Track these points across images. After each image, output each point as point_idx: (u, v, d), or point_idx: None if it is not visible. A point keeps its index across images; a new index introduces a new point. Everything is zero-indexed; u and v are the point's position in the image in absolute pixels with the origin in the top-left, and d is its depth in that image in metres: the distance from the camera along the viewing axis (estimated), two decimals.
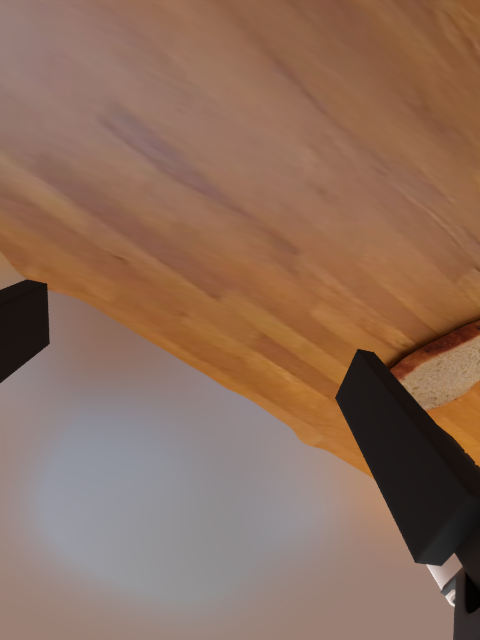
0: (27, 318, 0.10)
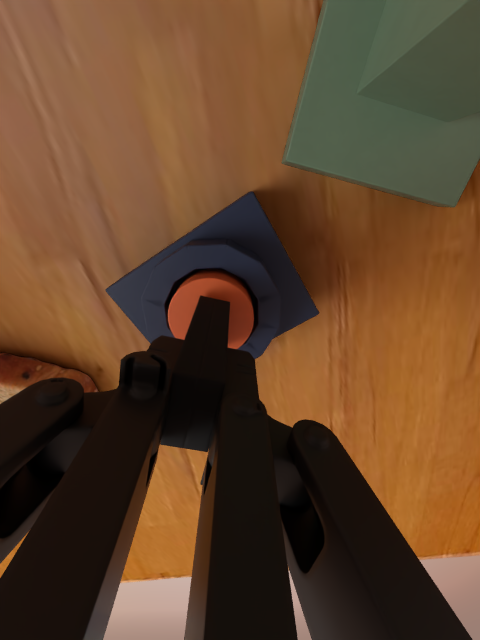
0: None
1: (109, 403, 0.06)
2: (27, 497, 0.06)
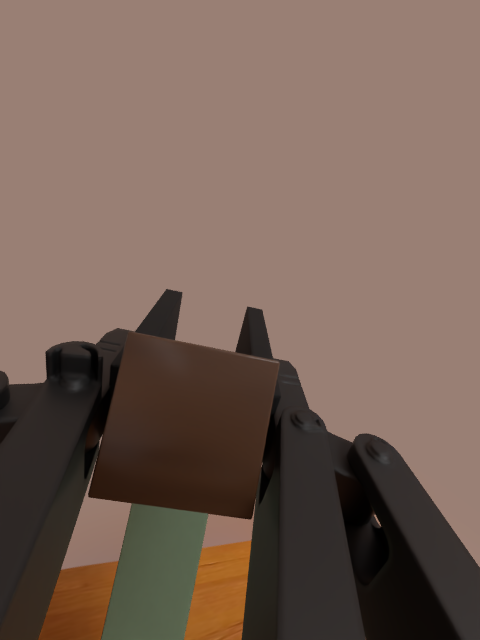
0: (174, 320, 0.13)
1: (35, 398, 0.06)
2: None
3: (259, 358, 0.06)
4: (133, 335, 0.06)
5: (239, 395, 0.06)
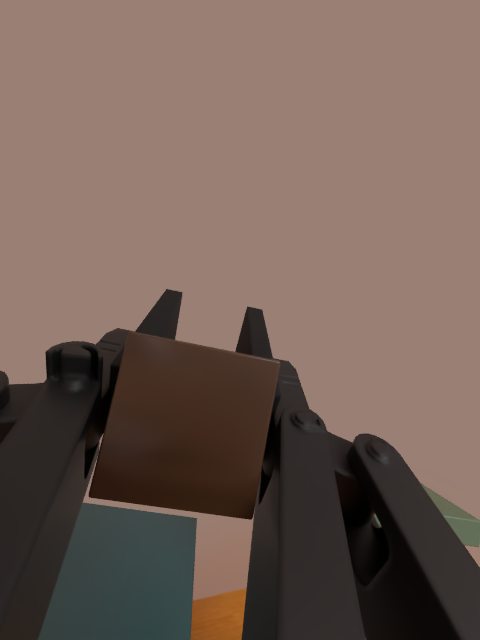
0: (174, 321, 0.13)
1: (35, 398, 0.06)
2: None
3: (259, 358, 0.06)
4: (133, 335, 0.06)
5: (239, 394, 0.06)
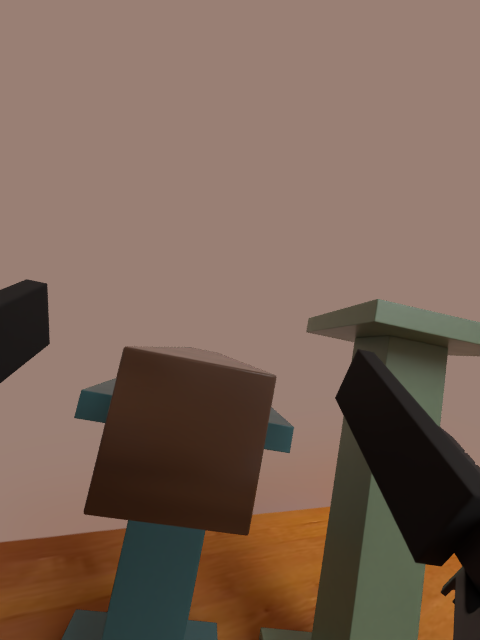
0: (27, 318, 0.10)
1: None
2: None
3: (256, 372, 0.06)
4: (129, 350, 0.06)
5: (235, 409, 0.06)
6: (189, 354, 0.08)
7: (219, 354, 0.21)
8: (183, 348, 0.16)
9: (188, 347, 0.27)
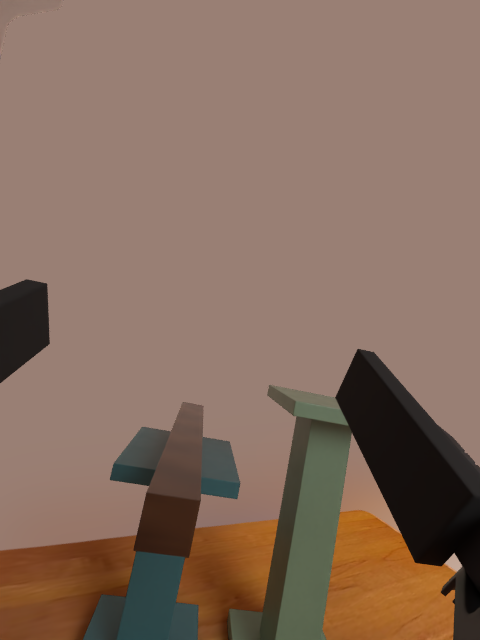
0: (27, 318, 0.10)
1: None
2: None
3: (192, 499, 0.17)
4: (148, 493, 0.16)
5: (185, 513, 0.17)
6: (171, 476, 0.19)
7: (199, 427, 0.32)
8: (173, 436, 0.27)
9: (180, 409, 0.38)
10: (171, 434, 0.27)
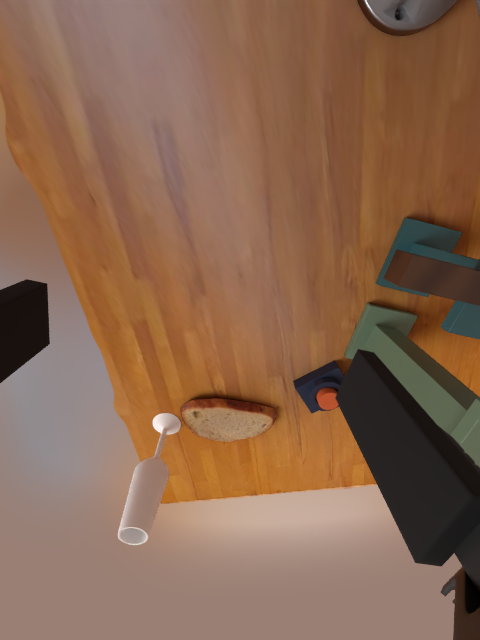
0: (27, 318, 0.10)
1: None
2: None
3: (400, 282, 0.28)
4: (413, 256, 0.27)
5: (397, 277, 0.28)
6: (431, 272, 0.27)
7: None
8: None
9: None
10: None
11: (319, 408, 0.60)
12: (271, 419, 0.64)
